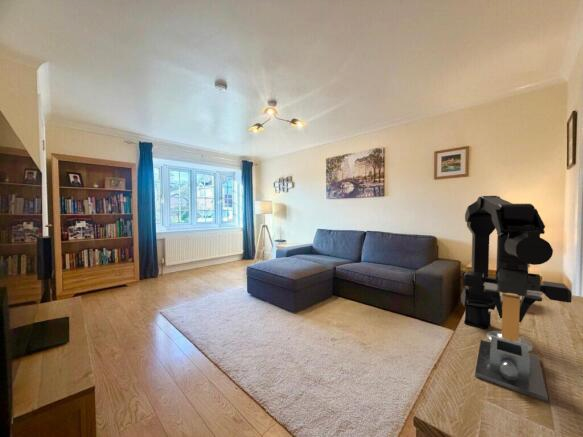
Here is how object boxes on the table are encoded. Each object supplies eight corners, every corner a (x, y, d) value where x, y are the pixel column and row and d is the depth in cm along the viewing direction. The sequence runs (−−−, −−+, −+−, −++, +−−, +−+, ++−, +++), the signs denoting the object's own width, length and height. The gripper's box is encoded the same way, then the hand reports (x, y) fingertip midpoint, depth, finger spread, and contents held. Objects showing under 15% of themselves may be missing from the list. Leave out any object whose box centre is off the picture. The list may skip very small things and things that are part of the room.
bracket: (475, 376, 58) (475, 351, 58) (480, 342, 73) (481, 322, 73) (547, 402, 51) (548, 374, 50) (537, 358, 65) (538, 336, 65)
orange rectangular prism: (501, 337, 59) (502, 296, 59) (501, 330, 62) (502, 291, 62) (518, 341, 57) (519, 299, 57) (517, 334, 60) (519, 294, 60)
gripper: (460, 256, 59) (459, 320, 60) (579, 268, 47) (575, 348, 47) (466, 250, 67) (464, 306, 68) (567, 259, 55) (564, 327, 56)
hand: (510, 319), depth 60 cm, fingers closed on orange rectangular prism, 3 cm apart
